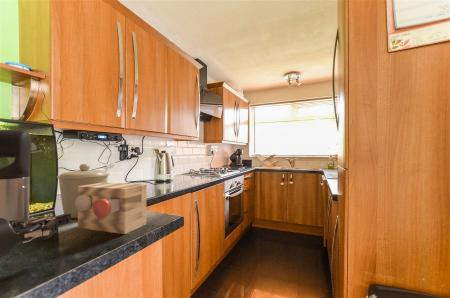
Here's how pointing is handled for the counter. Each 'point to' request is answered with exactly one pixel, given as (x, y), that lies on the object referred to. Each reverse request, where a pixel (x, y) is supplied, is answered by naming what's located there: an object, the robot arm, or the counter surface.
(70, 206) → the canister
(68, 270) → the counter surface
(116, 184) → the block
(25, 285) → the counter surface
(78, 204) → the beige plug
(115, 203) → the red plug
